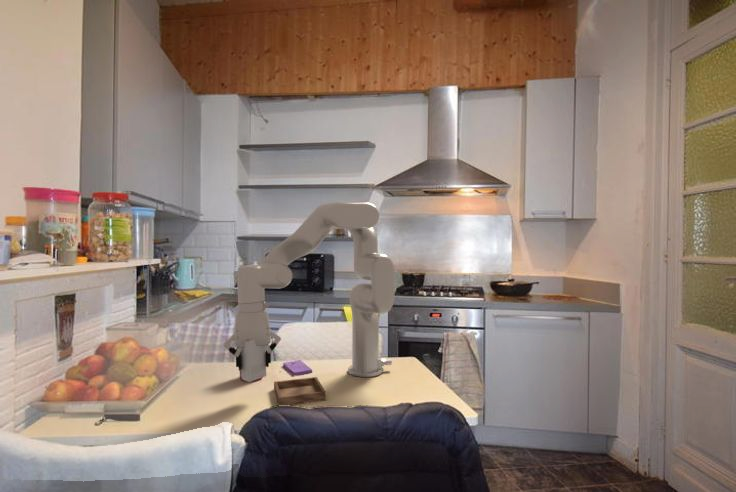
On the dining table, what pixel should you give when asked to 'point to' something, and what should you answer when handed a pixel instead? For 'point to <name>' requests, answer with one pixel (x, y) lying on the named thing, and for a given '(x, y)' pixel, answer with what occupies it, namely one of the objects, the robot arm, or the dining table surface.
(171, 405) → the dining table surface
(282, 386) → the tray
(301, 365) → the sponges
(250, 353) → the skincare box
